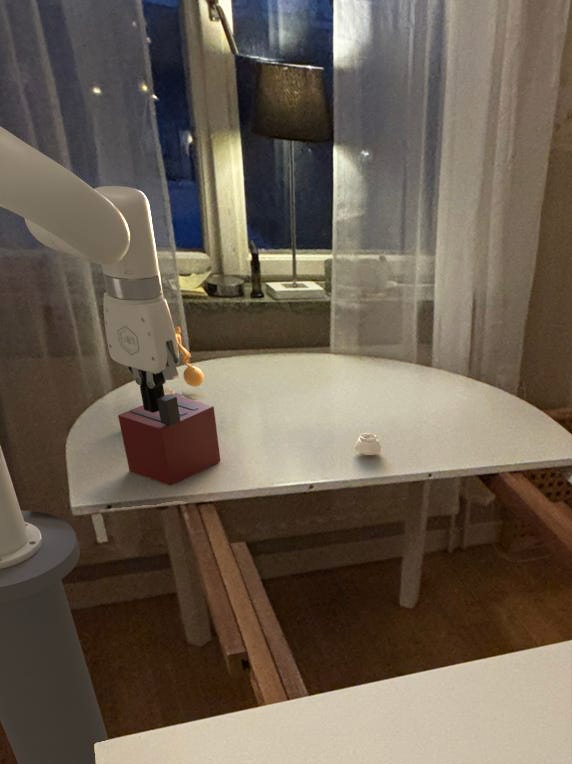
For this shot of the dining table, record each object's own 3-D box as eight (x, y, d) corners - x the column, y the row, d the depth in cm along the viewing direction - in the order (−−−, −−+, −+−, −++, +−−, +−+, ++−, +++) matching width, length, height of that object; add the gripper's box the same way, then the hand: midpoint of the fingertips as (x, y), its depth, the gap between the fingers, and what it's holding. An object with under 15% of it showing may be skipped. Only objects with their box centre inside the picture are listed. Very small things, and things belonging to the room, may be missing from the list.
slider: (169, 426, 120) (165, 401, 118) (160, 423, 121) (156, 398, 118) (180, 421, 122) (176, 396, 120) (171, 418, 123) (167, 393, 120)
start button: (164, 406, 142) (163, 397, 141) (148, 401, 143) (146, 391, 142) (180, 399, 145) (178, 390, 144) (163, 394, 146) (162, 385, 145)
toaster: (171, 486, 126) (161, 428, 120) (129, 472, 128) (117, 414, 122) (220, 461, 135) (213, 405, 128) (180, 447, 137) (171, 392, 131)
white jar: (356, 444, 145) (352, 455, 141) (356, 429, 144) (352, 439, 139) (382, 447, 145) (379, 457, 141) (383, 432, 144) (379, 442, 140)
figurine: (208, 392, 158) (201, 331, 151) (178, 394, 155) (169, 332, 148) (200, 378, 163) (193, 320, 156) (170, 380, 161) (162, 321, 154)
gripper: (73, 280, 109) (101, 404, 121) (155, 302, 105) (175, 428, 117) (114, 271, 115) (136, 390, 126) (193, 291, 111) (209, 413, 122)
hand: (155, 408), depth 122 cm, fingers closed
